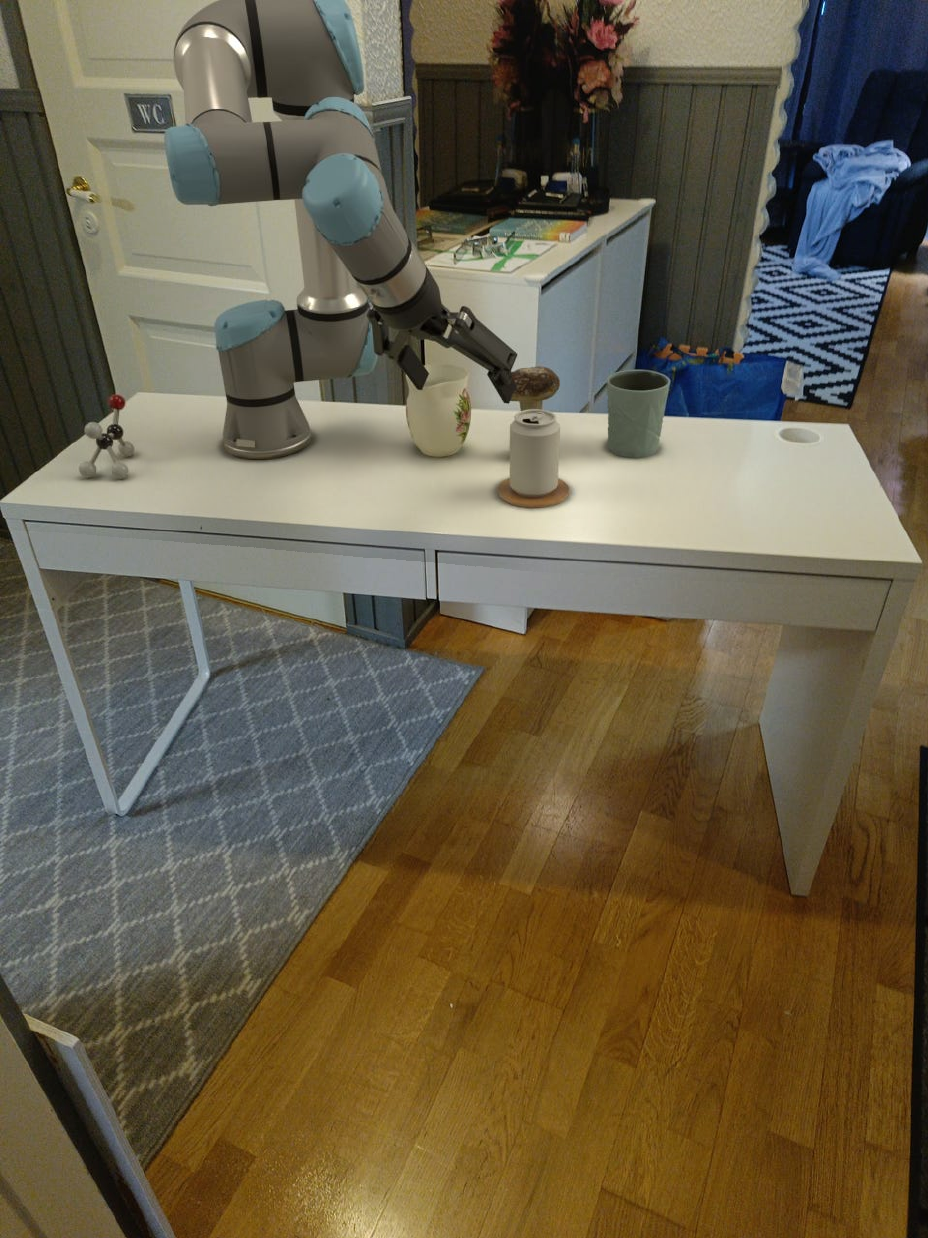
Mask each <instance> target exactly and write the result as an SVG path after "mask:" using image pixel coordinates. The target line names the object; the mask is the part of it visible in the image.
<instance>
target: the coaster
mask: <svg viewBox="0 0 928 1238" xmlns="http://www.w3.org/2000/svg"><path fill="white" fill-rule="evenodd" d="M497 494H498V496H499V497H500V498H501V499H502V500H503V501H504V502H506V503H508V504H510V505H513V506H517V507H521V508H530V509H531V508H532V509H533V508H534V509H535V508H536V509H538V508H547V507H551V506H556V505H559V504H560V503H562V502H564V501H565V500H566V499H567V498H568V496H569V494H570V487H569V485H568V484H567V483H566V482H565V481H564V480H563V479H561V478H559V477H558V485H557V487H556V488H555V489H554V490H553V491H552V492H551V493H549V494H548V495H545V496H542V497H526V496H522V495H520V494H518V493H517V492H516V491H515V490H513V489H512V488H511V487H510V477H508V478H506V479H504V480H503V481H502V482H500V484H499V485H498V493H497Z"/></svg>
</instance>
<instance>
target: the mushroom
mask: <svg viewBox="0 0 928 1238" xmlns="http://www.w3.org/2000/svg"><path fill="white" fill-rule="evenodd" d="M511 372H512V373H513V377H512V379H513V381H514V383H515V385H516V388H515V390H514V393H513V395H512V398H511V400H510V402H519V407H520V409H519V410H520V412H521V411H524V410H529V409H540V410H543V403H544V402H543V401H546V400H549V399H550V398H552V397H554V396H555V394H557V392H558V391H559V389H560V385H561V382H560V378H559V376H558V375H557V373H556V372H555V371H554V370H552V369H550V368H549V367H547V366H531V367H522V368H517V369H515V370H514V371H511Z"/></svg>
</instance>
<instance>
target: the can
mask: <svg viewBox="0 0 928 1238" xmlns="http://www.w3.org/2000/svg"><path fill="white" fill-rule="evenodd" d="M513 418H514V420H513V421H512V422H511V423H510V424H509V478H510V487H511V488H512V489H513V490H515V491H516V492H517V493H518V494H520V495H522V496H526V497H542V496H545V495H548V494H549V493H551V492H552V491H553V490H554V489H555V488H556V487H557V485H558V478H559V466H560V464H559V463H560V462H559V461H560V443H561V441H560V440H561V439H560V438H561V425H560V423H559V422H558V421H557V415H556V414H554V412H552V411H549V410H547V409H542V410H540V409H529V410H524V411H521V410H520V411H518V412H517V413H515V415H514V416H513Z"/></svg>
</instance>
